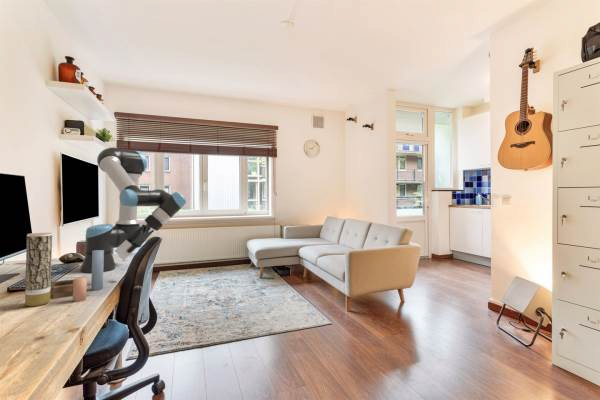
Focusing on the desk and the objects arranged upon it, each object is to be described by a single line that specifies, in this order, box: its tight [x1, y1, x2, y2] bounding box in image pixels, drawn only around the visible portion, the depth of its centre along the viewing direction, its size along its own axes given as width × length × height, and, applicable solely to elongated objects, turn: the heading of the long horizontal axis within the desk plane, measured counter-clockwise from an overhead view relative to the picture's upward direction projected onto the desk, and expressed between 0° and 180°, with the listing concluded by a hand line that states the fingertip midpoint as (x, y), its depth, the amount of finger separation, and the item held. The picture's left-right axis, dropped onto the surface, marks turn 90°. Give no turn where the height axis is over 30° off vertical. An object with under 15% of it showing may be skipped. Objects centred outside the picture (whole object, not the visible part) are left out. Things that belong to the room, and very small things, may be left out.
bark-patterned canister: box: [24, 232, 53, 307], centre depth 106 cm, size 7×7×25 cm
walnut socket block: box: [50, 278, 74, 300], centre depth 117 cm, size 10×10×4 cm
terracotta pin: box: [72, 277, 88, 303], centre depth 111 cm, size 4×4×8 cm
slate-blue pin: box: [90, 250, 104, 292], centre depth 124 cm, size 4×4×16 cm
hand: (118, 255), depth 127 cm, fingers open, 13 cm apart
